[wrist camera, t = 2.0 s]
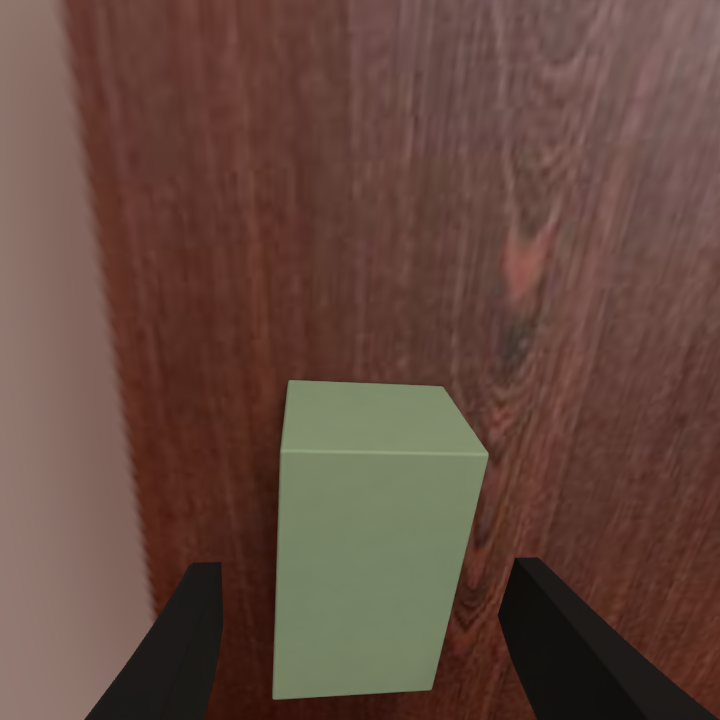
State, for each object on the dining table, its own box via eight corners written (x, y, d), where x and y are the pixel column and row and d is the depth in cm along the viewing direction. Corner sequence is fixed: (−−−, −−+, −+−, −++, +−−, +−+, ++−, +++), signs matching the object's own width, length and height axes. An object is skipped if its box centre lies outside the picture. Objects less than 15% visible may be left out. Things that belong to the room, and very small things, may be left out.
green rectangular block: (280, 588, 15) (272, 701, 11) (288, 378, 12) (280, 449, 9) (406, 585, 15) (432, 690, 12) (443, 385, 12) (490, 454, 9)
